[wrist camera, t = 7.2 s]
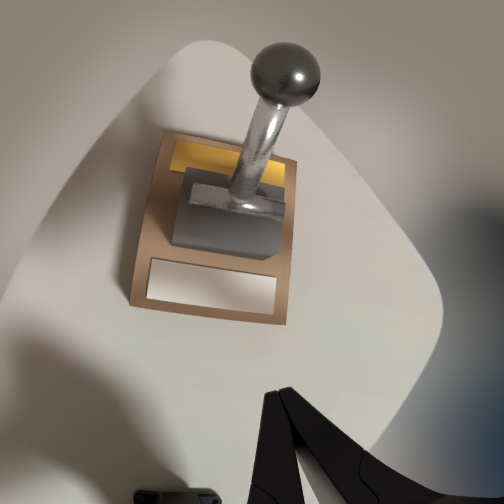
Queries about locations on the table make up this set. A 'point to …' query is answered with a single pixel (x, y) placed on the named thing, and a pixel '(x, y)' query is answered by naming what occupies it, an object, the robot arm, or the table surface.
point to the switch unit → (213, 239)
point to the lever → (264, 130)
